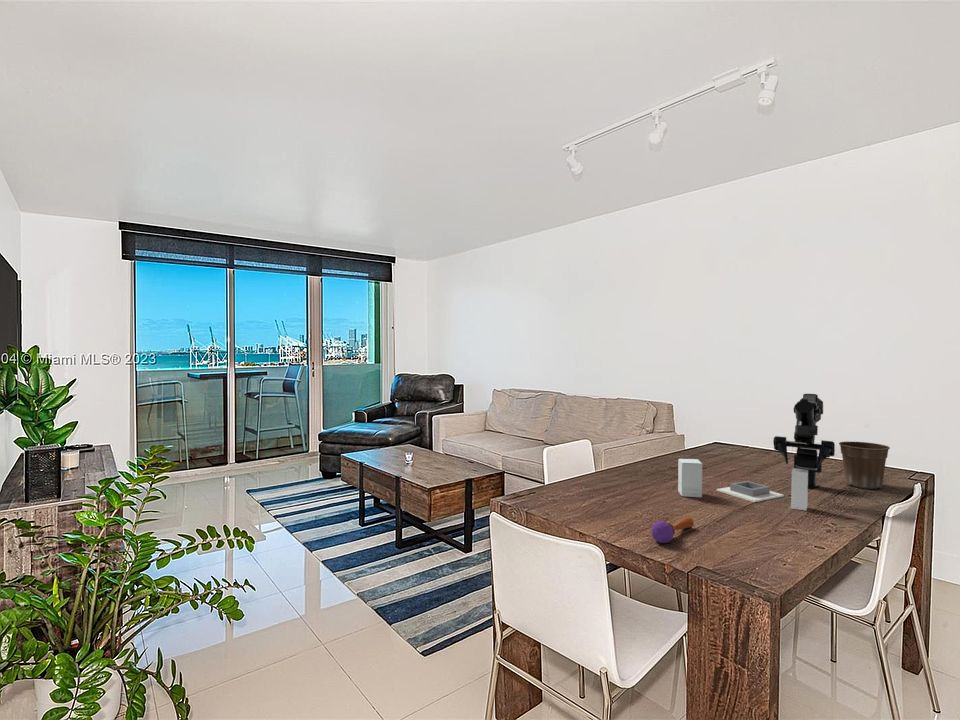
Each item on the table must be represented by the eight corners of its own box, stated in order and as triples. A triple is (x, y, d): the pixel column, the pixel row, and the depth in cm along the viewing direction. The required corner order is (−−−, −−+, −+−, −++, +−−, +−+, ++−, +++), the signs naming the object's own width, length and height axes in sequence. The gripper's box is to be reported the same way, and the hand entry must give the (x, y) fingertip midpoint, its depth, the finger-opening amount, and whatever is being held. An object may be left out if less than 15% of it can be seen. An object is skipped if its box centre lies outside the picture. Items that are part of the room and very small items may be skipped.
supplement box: (702, 497, 191) (702, 463, 191) (681, 496, 193) (681, 462, 192) (698, 492, 198) (698, 459, 198) (677, 490, 200) (678, 458, 199)
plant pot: (832, 478, 217) (833, 439, 217) (879, 481, 212) (880, 442, 212) (845, 488, 202) (846, 447, 202) (896, 492, 197) (897, 450, 196)
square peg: (792, 505, 182) (792, 468, 182) (807, 507, 180) (808, 469, 179) (790, 508, 179) (791, 470, 178) (806, 510, 176) (807, 472, 176)
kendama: (700, 517, 159) (669, 528, 145) (695, 535, 160) (664, 548, 146) (681, 509, 163) (650, 519, 149) (676, 527, 164) (645, 539, 150)
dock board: (745, 487, 207) (745, 477, 207) (783, 497, 193) (784, 488, 193) (716, 492, 200) (716, 482, 200) (754, 503, 186) (754, 493, 186)
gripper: (774, 414, 194) (770, 449, 186) (835, 418, 183) (833, 455, 175) (776, 432, 201) (772, 466, 192) (835, 437, 190) (833, 474, 181)
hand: (801, 465), depth 185 cm, fingers open, 9 cm apart
